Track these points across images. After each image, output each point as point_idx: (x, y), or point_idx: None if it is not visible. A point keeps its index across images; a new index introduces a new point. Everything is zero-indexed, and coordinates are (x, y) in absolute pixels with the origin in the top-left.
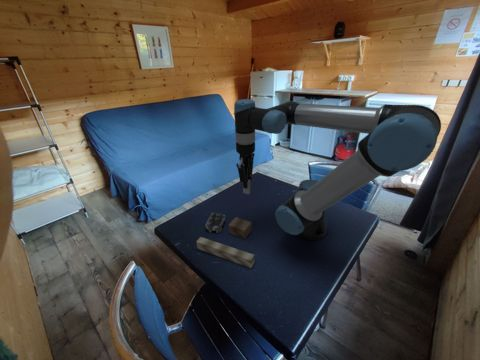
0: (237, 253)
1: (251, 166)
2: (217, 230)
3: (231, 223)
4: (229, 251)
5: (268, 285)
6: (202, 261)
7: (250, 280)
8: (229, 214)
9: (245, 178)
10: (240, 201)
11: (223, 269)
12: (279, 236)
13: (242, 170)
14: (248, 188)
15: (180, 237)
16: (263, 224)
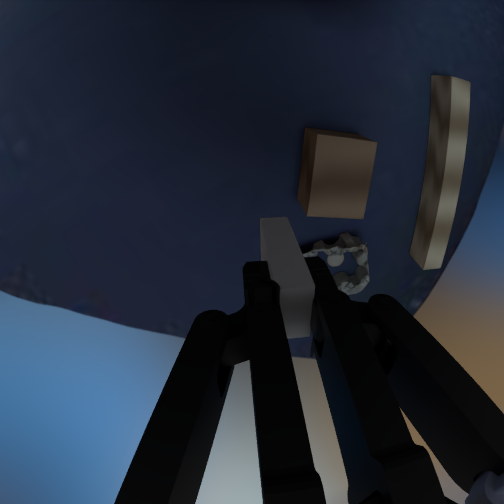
0: (461, 130)
1: (197, 420)
2: (361, 243)
3: (353, 212)
4: (460, 158)
5: (469, 30)
6: (457, 216)
7: (474, 75)
8: (247, 254)
9: (411, 330)
10: (147, 259)
11: (468, 153)
12: (288, 14)
13: (496, 422)
14: (297, 244)
15: None
16: (244, 96)
